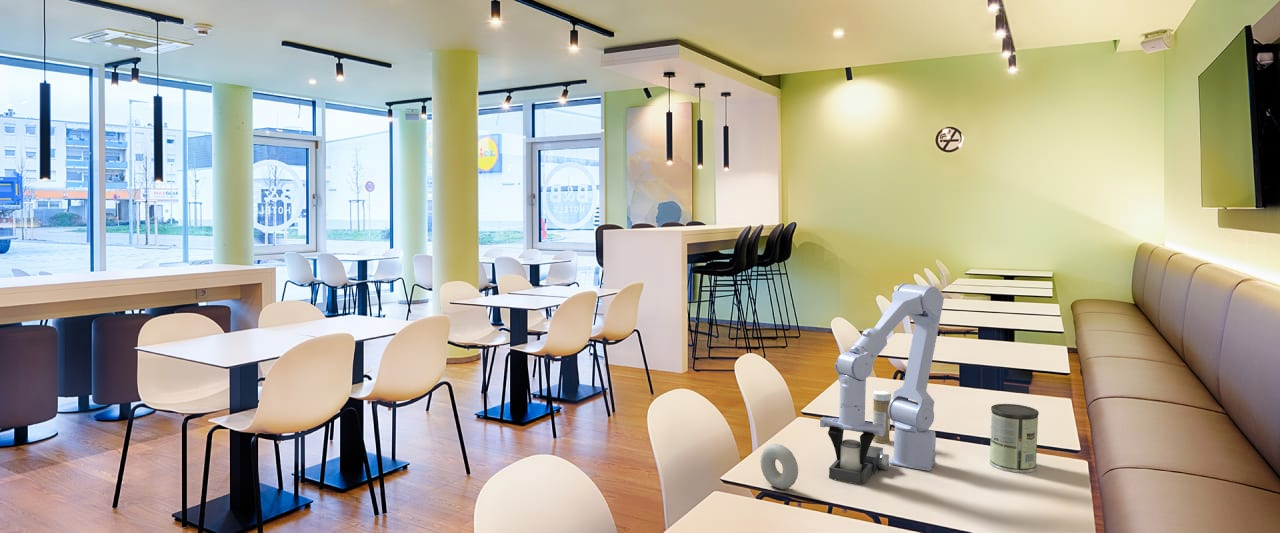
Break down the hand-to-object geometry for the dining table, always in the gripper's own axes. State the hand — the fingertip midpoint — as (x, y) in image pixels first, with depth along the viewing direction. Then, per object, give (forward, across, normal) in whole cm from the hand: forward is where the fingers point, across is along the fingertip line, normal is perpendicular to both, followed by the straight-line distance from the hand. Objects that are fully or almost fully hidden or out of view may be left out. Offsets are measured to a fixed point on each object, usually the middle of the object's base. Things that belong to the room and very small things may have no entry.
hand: (851, 461), depth 172 cm
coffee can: (+4, +32, +28) cm, 42 cm away
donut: (+4, -12, -16) cm, 20 cm away
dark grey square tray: (+4, 0, 0) cm, 4 cm away
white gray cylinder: (+2, 0, 0) cm, 2 cm away
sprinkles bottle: (+4, 0, +30) cm, 31 cm away
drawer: (+4, 0, +8) cm, 9 cm away
